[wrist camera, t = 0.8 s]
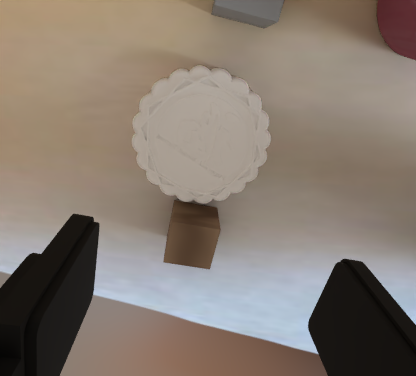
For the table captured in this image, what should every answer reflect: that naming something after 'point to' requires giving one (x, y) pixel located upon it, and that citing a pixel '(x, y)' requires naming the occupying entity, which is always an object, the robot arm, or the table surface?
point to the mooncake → (201, 134)
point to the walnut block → (192, 235)
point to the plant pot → (398, 25)
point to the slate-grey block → (249, 11)
